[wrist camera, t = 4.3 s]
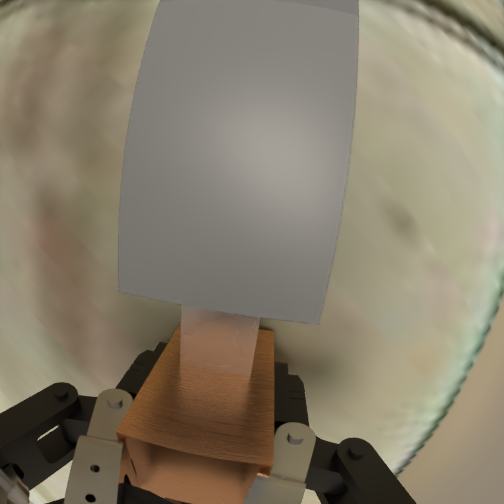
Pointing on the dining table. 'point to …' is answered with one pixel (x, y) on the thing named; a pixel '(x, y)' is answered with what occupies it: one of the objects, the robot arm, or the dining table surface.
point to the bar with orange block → (205, 411)
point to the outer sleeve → (239, 155)
